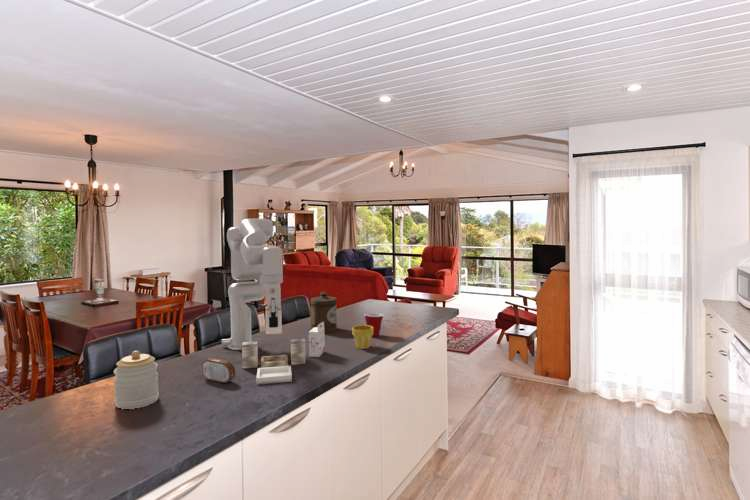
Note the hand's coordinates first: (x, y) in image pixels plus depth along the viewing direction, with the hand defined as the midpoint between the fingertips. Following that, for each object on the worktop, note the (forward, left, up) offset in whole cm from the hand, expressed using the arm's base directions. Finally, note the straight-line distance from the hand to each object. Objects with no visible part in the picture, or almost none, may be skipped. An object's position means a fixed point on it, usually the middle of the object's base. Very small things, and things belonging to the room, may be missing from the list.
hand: (273, 325), depth 161 cm
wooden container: (+27, +70, -21) cm, 78 cm away
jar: (-45, -12, -21) cm, 51 cm away
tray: (0, 0, -21) cm, 21 cm away
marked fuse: (0, 0, -3) cm, 3 cm away
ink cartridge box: (+19, +26, -21) cm, 39 cm away
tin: (-21, +2, -21) cm, 30 cm away
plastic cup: (+52, +51, -21) cm, 76 cm away
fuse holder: (0, +16, -21) cm, 26 cm away
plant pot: (+42, +32, -21) cm, 57 cm away
